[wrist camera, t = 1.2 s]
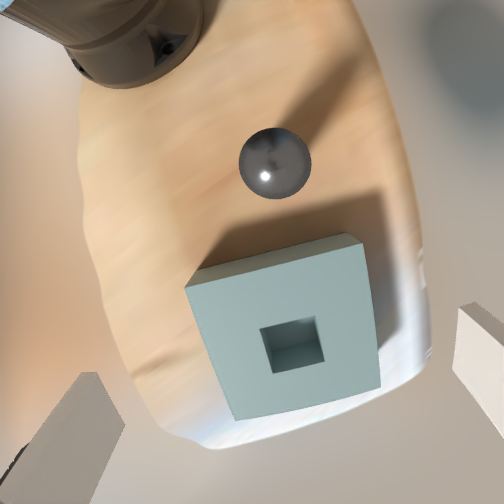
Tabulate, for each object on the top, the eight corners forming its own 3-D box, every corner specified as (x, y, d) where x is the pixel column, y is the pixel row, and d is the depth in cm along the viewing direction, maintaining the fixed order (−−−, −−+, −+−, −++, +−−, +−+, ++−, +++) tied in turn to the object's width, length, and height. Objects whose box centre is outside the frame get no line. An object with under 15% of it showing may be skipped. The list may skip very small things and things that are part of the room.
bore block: (196, 270, 34) (184, 287, 28) (346, 231, 32) (362, 243, 27) (238, 391, 37) (235, 420, 32) (367, 361, 36) (380, 387, 30)
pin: (248, 148, 31) (238, 128, 17) (289, 148, 31) (310, 128, 17) (249, 189, 32) (239, 199, 18) (290, 188, 31) (311, 199, 18)
